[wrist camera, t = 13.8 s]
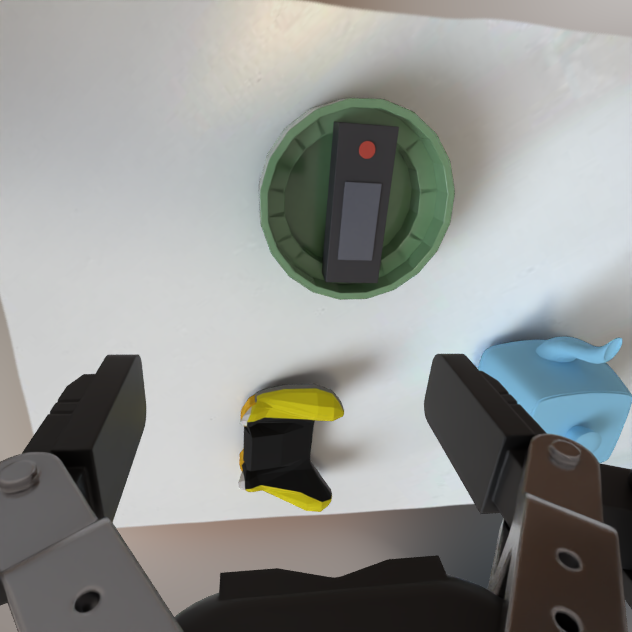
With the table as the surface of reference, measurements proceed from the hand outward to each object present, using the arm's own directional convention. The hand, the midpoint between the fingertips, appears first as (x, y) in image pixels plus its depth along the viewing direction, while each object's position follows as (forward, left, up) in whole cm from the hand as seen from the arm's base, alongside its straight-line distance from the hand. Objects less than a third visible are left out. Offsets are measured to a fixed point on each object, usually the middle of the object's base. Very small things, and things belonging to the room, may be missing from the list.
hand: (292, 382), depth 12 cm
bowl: (+4, +6, -28) cm, 29 cm away
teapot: (+31, +12, -28) cm, 44 cm away
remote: (+4, +6, -25) cm, 26 cm away
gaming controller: (+21, -13, -28) cm, 38 cm away
